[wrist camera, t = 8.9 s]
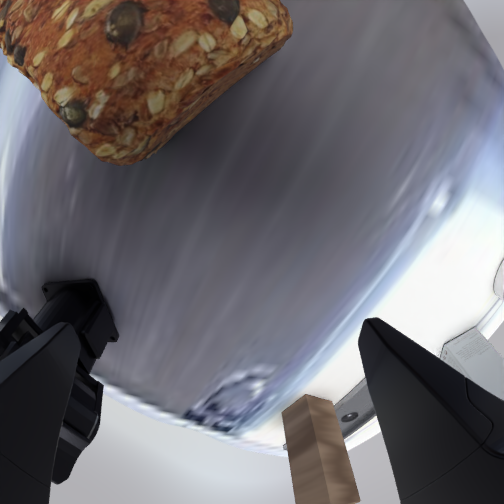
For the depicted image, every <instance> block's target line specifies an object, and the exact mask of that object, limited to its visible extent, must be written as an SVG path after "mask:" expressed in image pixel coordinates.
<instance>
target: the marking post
mask: <svg viewBox="0 0 504 504" xmlns="http://www.w3.org/2000/svg"><path fill="white" fill-rule="evenodd" d="M282 418H283V425H284V431H285V438H286V444H287V450H288V457H289V463H290V470H291V476H292V483H293V489H294V495H295V502H296V504H355V503H358V502H360V497H359V493H358V489H357V486H356V482H355V478H354V475H353V471H352V467H351V464H350V460H349V457H348V453H347V450H346V446H345V443H344V439H343V436H342V433H341V429H340V426H339V423H338V419H337V416H336V413H335V409H334V406H333V403H332V401H329V400H325V399H321V398H318V397H314V396H310V395H307V394H305V395H304V396H303V397H301V398H300V399H299V400H298V401H296V402H295V403H294V404H292V405H291V406H290V407H288V408H287V409H286V410H284V411H283V412H282Z"/></svg>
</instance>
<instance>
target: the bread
mask: <svg viewBox="0 0 504 504" xmlns="http://www.w3.org/2000/svg"><path fill="white" fill-rule="evenodd" d="M292 32H293V22H292V20H291V17H290V15H289V13H288V10H287V8H286V7H285V6H284V5H283V4H282V3H281V1H280V0H0V48H1V49H3V54H4V55H6V56H7V59H8V63H9V64H10V65H11V66H13V67H15V68H17V69H19V72H20V73H22V74H23V75H24V76H26V77H27V78H28V79H29V80H30V81H31V82H32V83H33V85H34V86H35V87H36V88H38V89H39V90H40V91H41V97H42V99H43V100H44V102H45V103H46V104H47V106H48V107H49V108H50V109H51V110H52V111H53V113H54V114H55V115H56V116H57V117H59V118H60V119H61V120H62V121H63V122H64V123H65V124H66V125H67V127H68V129H69V131H70V134H71V135H72V136H73V137H74V138H76V139H77V140H78V141H79V142H81V143H82V144H83V145H85V146H86V147H87V148H88V149H89V150H90V151H91V152H92V153H93V154H94V155H95V156H97V157H98V158H99V159H100V160H101V161H103V162H109V163H112V164H115V165H119V166H122V165H131V164H134V163H136V162H138V161H142V160H143V159H147V158H150V156H151V155H152V154H153V153H154V154H156V153H157V151H158V150H159V149H160V148H162V147H163V146H164V145H165V144H166V143H167V142H168V141H169V140H170V139H171V138H172V137H173V136H174V134H175V133H176V132H177V131H179V130H180V129H181V128H182V127H183V126H185V125H186V124H187V123H188V122H190V121H191V120H192V119H193V118H194V117H196V116H197V115H198V114H199V113H200V112H201V111H202V110H204V109H205V108H206V107H207V106H208V105H209V104H211V103H212V102H213V101H214V100H215V99H217V98H218V97H219V96H220V95H222V94H223V93H224V92H225V91H226V90H228V89H229V88H230V87H231V86H232V85H234V84H235V83H236V82H238V81H239V80H240V79H241V78H243V77H244V76H245V75H247V74H248V73H249V72H251V71H252V70H253V69H255V68H256V67H257V66H258V65H260V64H261V63H262V62H263V61H265V60H266V59H267V58H268V57H270V56H271V55H273V54H274V53H276V52H277V51H279V50H280V49H281V47H282V46H284V43H285V42H286V40H288V39H289V38H290V37H291V35H292Z"/></svg>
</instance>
